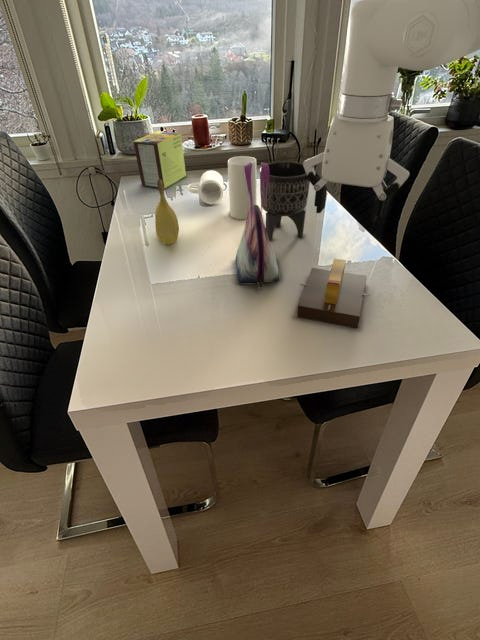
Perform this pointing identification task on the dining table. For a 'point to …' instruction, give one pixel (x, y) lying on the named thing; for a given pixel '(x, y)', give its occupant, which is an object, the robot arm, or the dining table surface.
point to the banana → (165, 219)
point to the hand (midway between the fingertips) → (346, 214)
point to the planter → (285, 195)
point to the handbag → (256, 241)
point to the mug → (209, 187)
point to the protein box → (160, 158)
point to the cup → (241, 186)
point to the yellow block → (335, 281)
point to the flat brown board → (338, 313)
